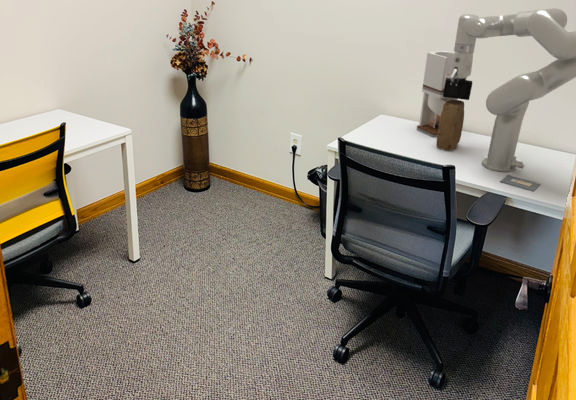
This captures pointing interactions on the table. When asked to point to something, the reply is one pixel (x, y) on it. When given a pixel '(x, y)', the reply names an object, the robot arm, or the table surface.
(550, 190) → the table surface
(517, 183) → the card
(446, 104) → the brown rounded lump
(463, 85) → the digital camera
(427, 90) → the toilet paper holder
